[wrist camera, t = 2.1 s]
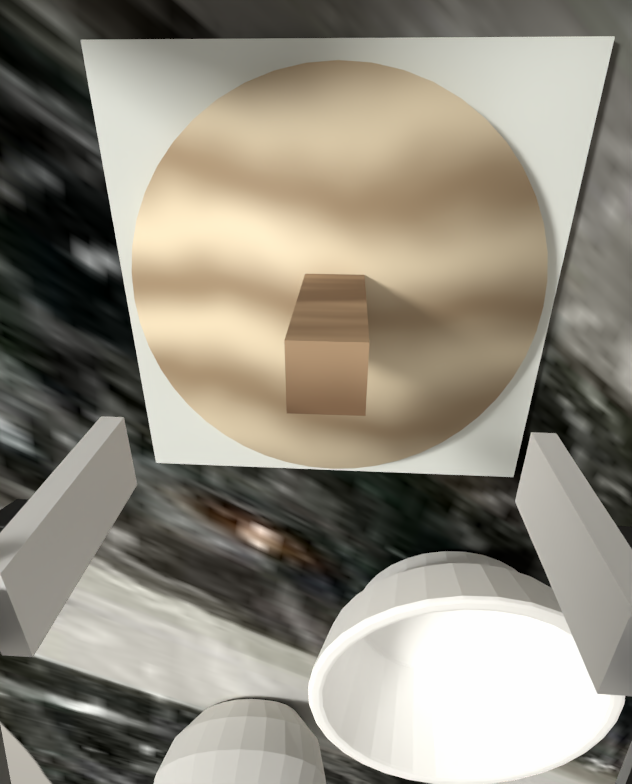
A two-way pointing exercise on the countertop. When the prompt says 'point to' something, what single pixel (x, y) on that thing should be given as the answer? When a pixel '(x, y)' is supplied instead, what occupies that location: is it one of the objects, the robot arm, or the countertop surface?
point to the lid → (339, 264)
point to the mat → (416, 55)
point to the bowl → (457, 675)
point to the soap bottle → (244, 747)
